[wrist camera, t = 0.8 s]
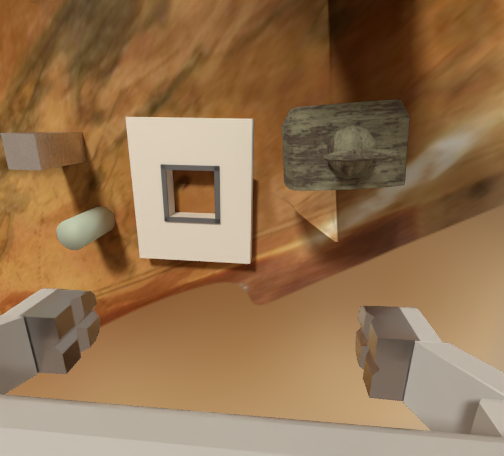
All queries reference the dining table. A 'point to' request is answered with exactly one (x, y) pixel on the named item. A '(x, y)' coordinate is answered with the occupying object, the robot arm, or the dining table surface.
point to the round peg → (85, 227)
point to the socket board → (197, 159)
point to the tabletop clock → (346, 146)
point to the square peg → (43, 149)
